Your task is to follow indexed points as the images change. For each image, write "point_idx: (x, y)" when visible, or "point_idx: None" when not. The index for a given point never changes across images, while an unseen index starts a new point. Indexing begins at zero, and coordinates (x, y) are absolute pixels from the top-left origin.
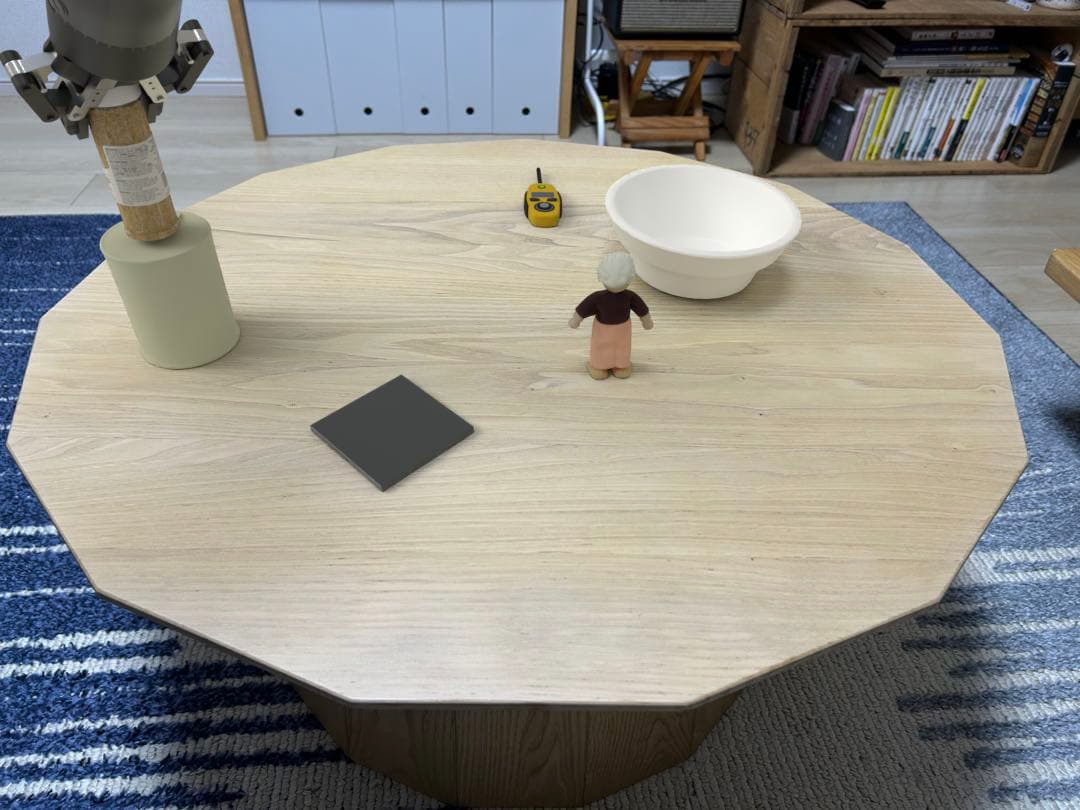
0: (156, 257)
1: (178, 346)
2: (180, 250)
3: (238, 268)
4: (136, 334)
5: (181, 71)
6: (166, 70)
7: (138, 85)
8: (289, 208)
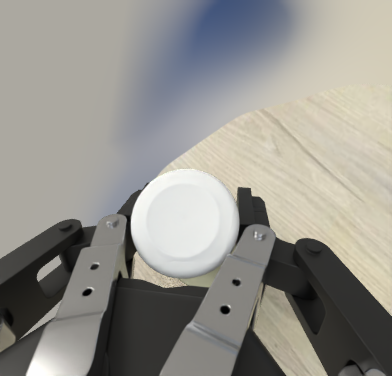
0: (190, 278)
1: None
2: (211, 282)
3: (278, 188)
4: None
5: (313, 333)
6: (292, 272)
7: (230, 253)
8: (350, 135)
